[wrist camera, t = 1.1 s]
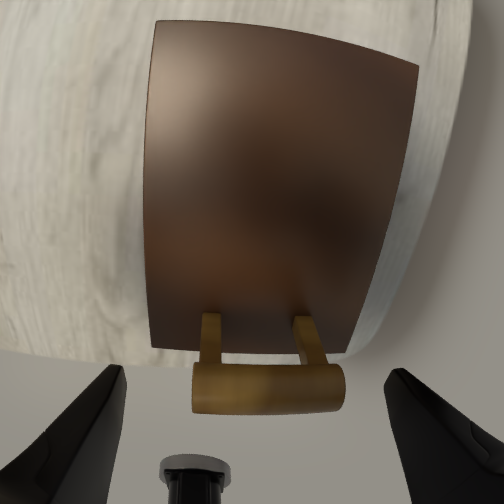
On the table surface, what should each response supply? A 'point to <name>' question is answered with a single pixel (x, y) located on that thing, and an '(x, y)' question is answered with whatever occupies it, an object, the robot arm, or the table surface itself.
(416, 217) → the table surface
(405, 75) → the lid
